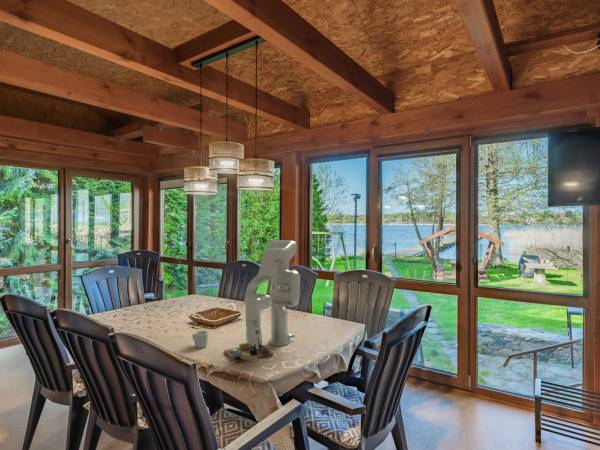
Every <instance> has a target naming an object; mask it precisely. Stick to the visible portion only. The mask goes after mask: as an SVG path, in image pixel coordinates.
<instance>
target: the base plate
mask: <svg viewBox="0 0 600 450" xmlns="http://www.w3.org/2000/svg"><path fill="white" fill-rule="evenodd" d="M236 350H239V346H237V347H234V348H228V349H224V350H223V351H224V354H225V355H226V356H227V357H228V358H229V359H230V361H232V362H233V363H234V364H235V365H238V364H244V363H247V362H249V361H248V360H244V359H234V351H236ZM242 351H243V352H244V353H248V354H250V348H248V349H243V350H242ZM270 357H274V352H273V351H271V350H270V348H269V347H266V346H264V344H262V347H259V349H257V360H262V359H266V358H270Z"/></svg>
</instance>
